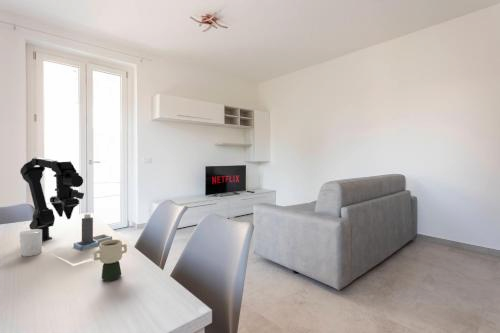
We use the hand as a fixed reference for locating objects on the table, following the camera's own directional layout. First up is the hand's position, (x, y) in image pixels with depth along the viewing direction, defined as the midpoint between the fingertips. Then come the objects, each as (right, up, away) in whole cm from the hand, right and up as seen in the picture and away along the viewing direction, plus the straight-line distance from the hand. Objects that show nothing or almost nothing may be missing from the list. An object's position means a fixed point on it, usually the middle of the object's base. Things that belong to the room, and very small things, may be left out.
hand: (64, 217), depth 129 cm
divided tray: (+14, -13, 0) cm, 19 cm away
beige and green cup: (+42, -15, -36) cm, 57 cm away
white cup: (-6, -14, -12) cm, 19 cm away
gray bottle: (+14, -12, -5) cm, 19 cm away
